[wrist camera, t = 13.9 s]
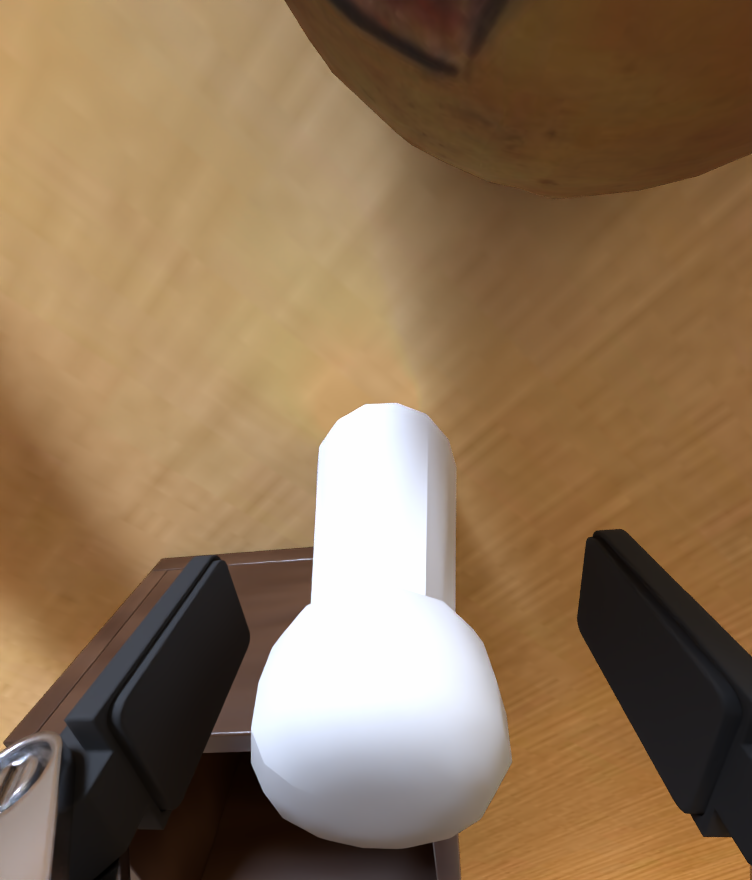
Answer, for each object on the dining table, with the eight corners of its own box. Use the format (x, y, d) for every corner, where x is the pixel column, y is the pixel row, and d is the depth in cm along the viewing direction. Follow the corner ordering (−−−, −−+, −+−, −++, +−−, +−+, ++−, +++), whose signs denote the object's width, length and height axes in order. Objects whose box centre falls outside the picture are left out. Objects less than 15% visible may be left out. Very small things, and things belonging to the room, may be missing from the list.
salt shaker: (411, 366, 16) (492, 604, 3) (466, 467, 17) (644, 857, 5) (303, 427, 17) (86, 757, 5) (364, 516, 19) (320, 919, 7)
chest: (161, 558, 20) (1, 743, 12) (423, 538, 19) (451, 726, 11) (239, 737, 26) (171, 940, 18) (440, 730, 25) (465, 943, 17)
